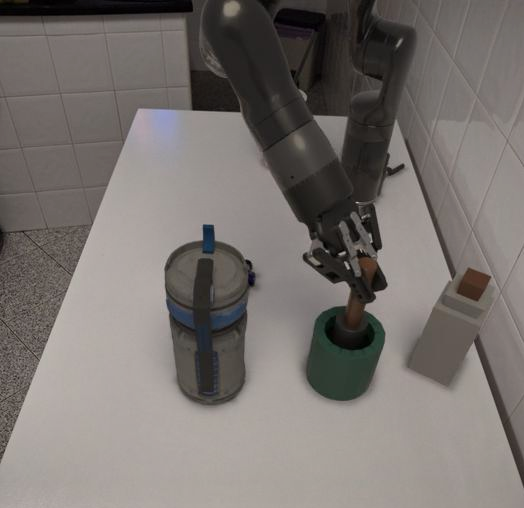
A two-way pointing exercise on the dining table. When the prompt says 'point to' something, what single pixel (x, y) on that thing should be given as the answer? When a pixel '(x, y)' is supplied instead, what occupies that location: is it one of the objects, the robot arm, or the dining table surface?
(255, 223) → the dining table surface
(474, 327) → the perfume bottle
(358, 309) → the pestle
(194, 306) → the beverage bottle
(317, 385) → the green tube segment
